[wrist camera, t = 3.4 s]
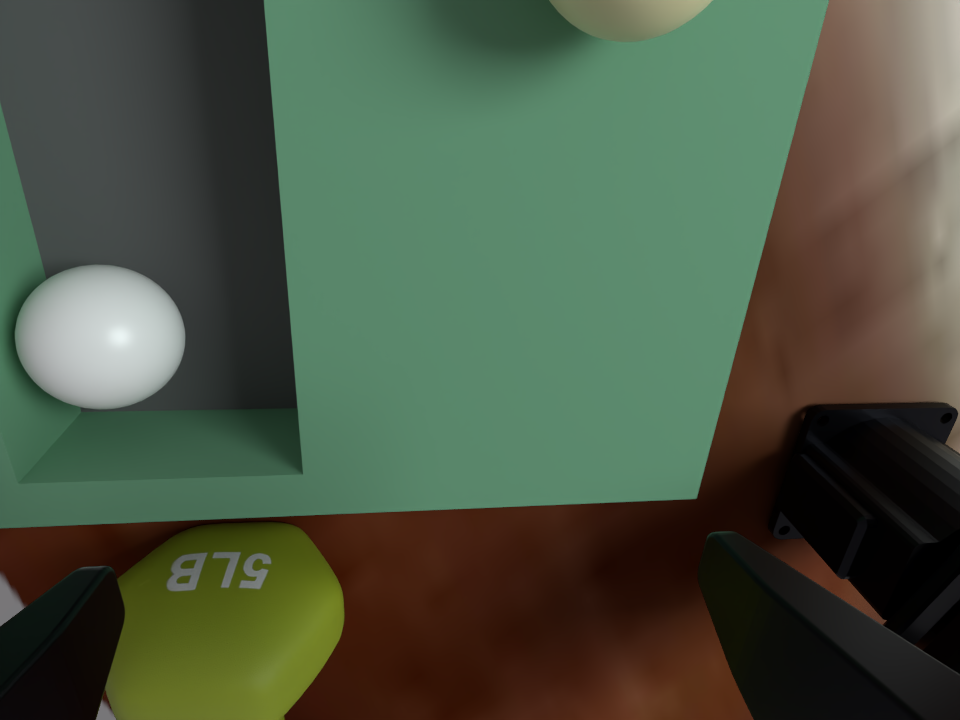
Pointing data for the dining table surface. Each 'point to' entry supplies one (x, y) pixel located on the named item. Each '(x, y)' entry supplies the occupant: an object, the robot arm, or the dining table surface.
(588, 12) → the yellow ball
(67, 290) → the white ball
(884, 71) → the dining table surface
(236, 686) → the dumbbell
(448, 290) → the putting mat
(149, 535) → the dining table surface
